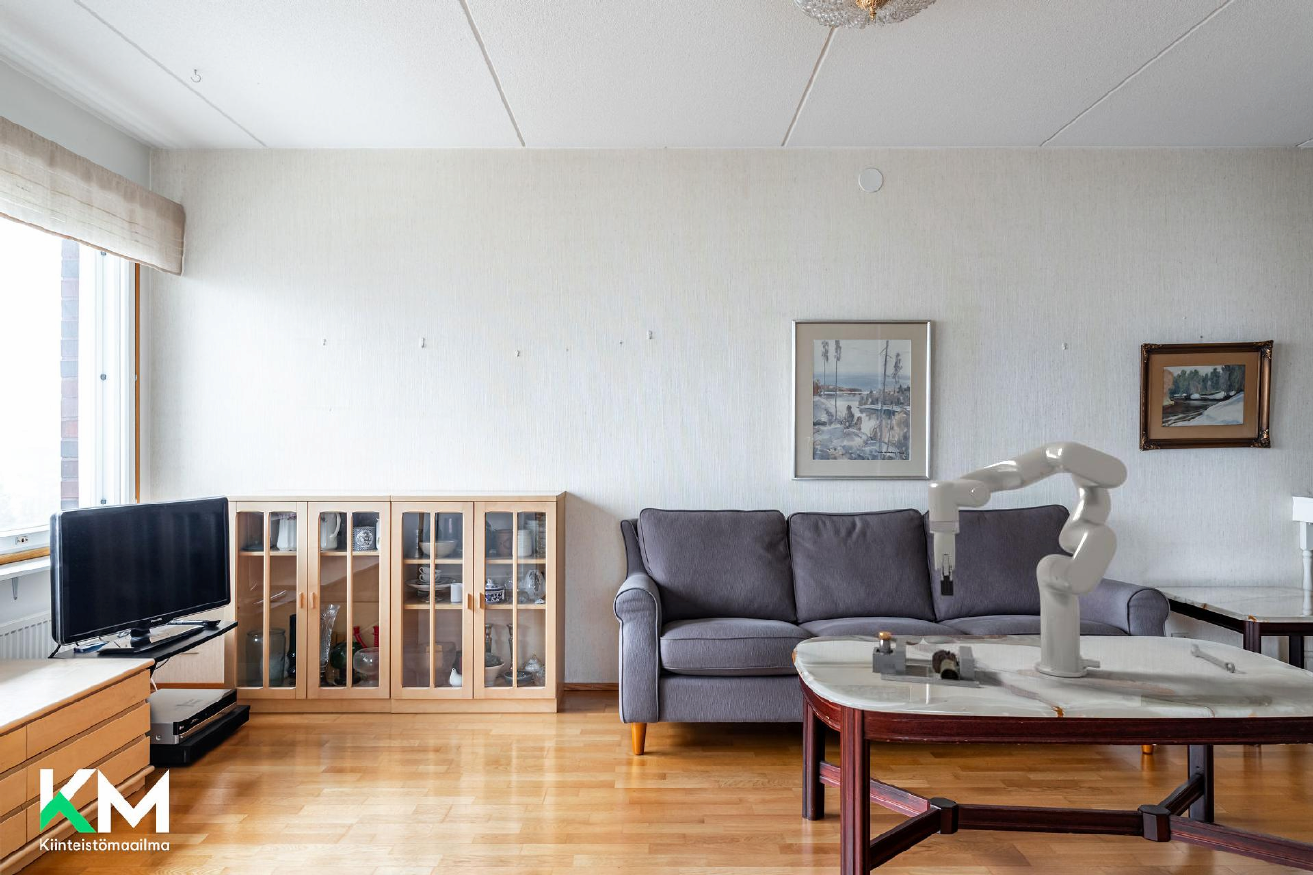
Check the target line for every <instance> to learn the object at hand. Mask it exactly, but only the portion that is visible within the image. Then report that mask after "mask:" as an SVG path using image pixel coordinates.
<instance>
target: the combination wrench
mask: <svg viewBox="0 0 1313 875" xmlns="http://www.w3.org/2000/svg"><path fill="white" fill-rule="evenodd" d="M1191 646H1192V648H1193V650H1191V649H1190V651H1189V652H1190V654H1191V656H1193V657H1202V658H1204V659H1206V660H1207V661H1209V662H1211V663H1213V664H1215V665H1217V666H1219V667H1221V668H1223V669H1224V670H1225V671H1226V672H1228V673H1235V671H1236V666H1235V663H1233V662H1232V661H1228V662H1226V661H1224V660H1221V659H1219V658H1217V657H1215V656H1213V655H1211V654H1209V653H1206V652H1204V651H1202V650H1201V649H1200V647H1199V646H1198V644H1197V643H1191ZM1229 666H1230V668H1229ZM1230 669H1231V670H1230Z"/></svg>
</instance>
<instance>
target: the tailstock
mask: <svg viewBox="0 0 1313 875" xmlns="http://www.w3.org/2000/svg"><path fill="white" fill-rule="evenodd" d="M895 642H896V643H895V647H891V653H879V646H874V647H873V651H872V673H879V674H881V673H882V674H894V675H905V676H906V673H907V663H906V657H907V639H906V638H905V639H904V638H896V641H895Z"/></svg>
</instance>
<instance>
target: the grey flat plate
mask: <svg viewBox="0 0 1313 875" xmlns="http://www.w3.org/2000/svg"><path fill="white" fill-rule="evenodd" d="M907 663H908V664H919V665H931V666H932V658H920V657H907V656H906V664H907ZM957 668H958V666H957ZM974 669H975V663H974ZM880 680H887V681H895V682H896V681H898V682H908V683H909V682H910V683H921V684H930V685H940V686H941V685H943V686H956V687H965V688H977V689H980V682H979V681H975V680H974V681H963V680H961V679H960V680H952V679H941V677H940V678H939V677H930V676H929V677H926V676H915V675H906V674H905V675H895V674H889V673H880Z"/></svg>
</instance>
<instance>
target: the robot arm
mask: <svg viewBox="0 0 1313 875" xmlns="http://www.w3.org/2000/svg"><path fill="white" fill-rule="evenodd" d="M1057 474H1070V478H1071V479H1072V480H1071V481H1072V482H1073V484H1074V487H1075V489H1076V495H1077V496H1076V501H1075V504H1074V507H1073V509H1072V511H1071V513H1070V514H1069V516H1068V518H1067V520H1066V522H1065V523H1064V525H1063V527H1062V528H1061V529H1062V530H1061V531H1060V533H1059V534H1060V535H1059V537H1058V543H1059V545H1060V547H1061V548H1062V549H1063V550H1064V551H1065V552H1067V553H1070V554H1072V556H1069V555H1065V554H1057V553H1054V554H1048V555H1046V556H1043V558H1041V559H1040V561H1039V562H1038V564H1037V565H1036V566H1037V567H1036V579H1037V585H1038V590H1039V600H1040V601H1039V602H1040V661H1037V662H1036V663H1035V664H1034V669H1035V670H1036V671H1038V672H1040V673H1043V674H1045V675H1051V676H1054V677H1055V676H1056V677H1064V678H1079V677H1084V676H1086V675H1088V671H1087V669H1088V668H1092V669H1101V662H1100V660H1093V659H1092V658H1084V657H1083V656H1082V655H1081V635H1080V634H1081V628H1080V627H1081V626H1080V625H1081V624H1080V622H1081V616H1080V615H1081V614H1080V613H1081V612H1080V600H1079V597H1082V596H1083V597H1084V596H1088V595H1090V594H1091V593H1093V592H1094V591H1095V590H1096V589H1097V587H1098V586H1099V585H1100V583H1101V581H1102V579H1103V578H1104V576H1105V574H1106V572H1107V570H1108V568H1109V566H1110V564H1111V563H1112V560H1113V559H1114V557H1115V555H1116V552H1117V548H1118V538H1117V536H1116V533H1115V532H1114V530H1113V529H1112V528H1111V527H1110V526H1108V525H1107V524H1106V522H1107V520H1108V518H1109V516H1110V513H1111V510H1112V499H1111V496H1110V492H1109V490H1111V489H1116V488H1119V487H1120V486H1122V485H1123V484H1124V483H1125V482H1126V480H1127V476H1128V470H1127V467H1126V465H1125V463H1124V462H1122V460H1120V459H1119V458H1117V457H1115V456H1113V455H1110V454H1108V453H1106V452H1102V451H1100V450H1097V449H1095V448H1092V447H1090V446H1087V445H1085V444H1081V443H1079V442H1075V441H1052V442H1047V443H1045V444H1042V445H1040V446H1037V447H1035V448H1032V449H1030V450H1028V451H1025V452H1024V453H1022V454H1019V455H1015V456H1014V457H1011V458H1008V459H1006V460H1003V461H999V462H997V463H993V464H991V465H988V466H985V467H982V468H978V469H975V470H973V471H970V472H967V473H966V474H963V475H960V476H959V477H956V478H954V479H953V480H951V481H949V480H945V481H943V480H941V481H933V482H929V484H928V486H927V491H928V493H927V494H928V496H927V498H928V499H927V500H928V514H929V515H928V517H929V519H928V520H929V533H931V534H933V553H934V554H933V555H934V569H935V571H939V570H940V580H939V581H940V582H939V583H940V595H941V596H942V597H943V596H945V597H953V596H954V580H953V573H952V572H953V571H954V570H955V566H956V534H959V533H960V515H959V508H960V507H962V508H972V509H976V508H977V509H978V508H981V507H984V506H985V505H987V504H988V503H989V501H990V500H991V497H992V494H993V493H997V492H1003V491H1004V492H1005V491H1013V490H1019V489H1023V488H1027V487H1029V486H1031V485H1033V484H1035V483H1038V482H1040V481H1043V480H1044V479H1047V478H1050V477H1052V476H1054V475H1057ZM1078 596H1079V597H1078Z"/></svg>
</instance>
